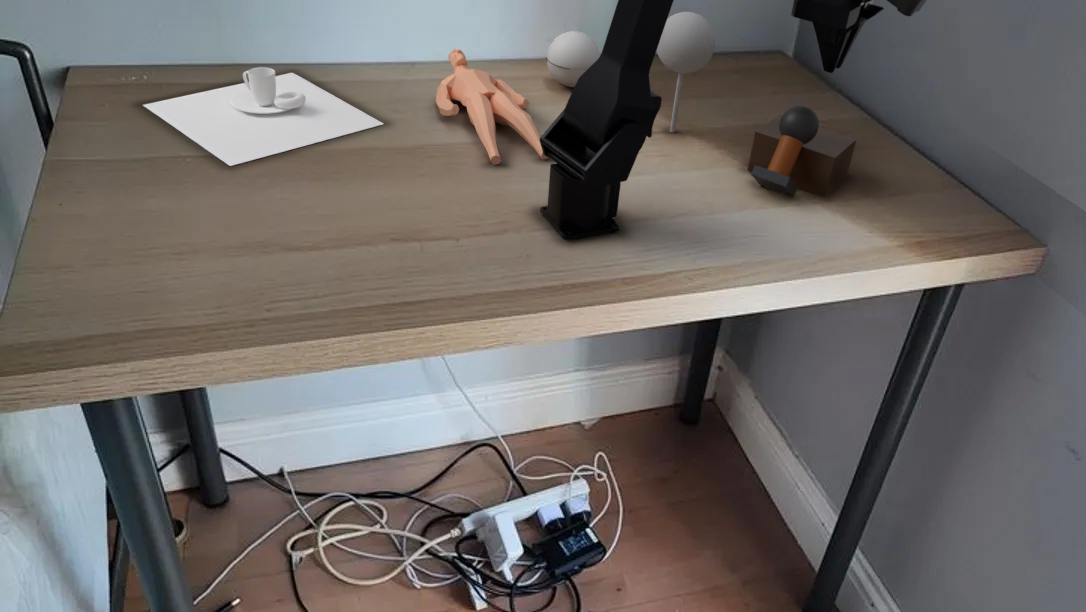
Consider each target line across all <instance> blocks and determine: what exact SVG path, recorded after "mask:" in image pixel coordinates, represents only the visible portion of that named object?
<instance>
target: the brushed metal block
mask: <svg viewBox="0 0 1086 612" xmlns="http://www.w3.org/2000/svg"><path fill="white" fill-rule="evenodd" d="M781 117H782V114H779V115H778V116H776V117H775V118H773V119H772V120H770V121H769V122H767V123H766V124H765V125H763V126H761V127H760V128H758V129H757V130H755V131H754V135H753V137H754V138H753V141H752V145H751V146H752V147H751V151H750V156H749V162H748V166H747V171H748V172H751V173H752V171H753V168H754V166H755V165H757V166H759V167H762V168H765V169H768V166H769V164H770V162H771V160H772V157H773V155H774V153H775V150H776V148H777V146H778V144H779V141H780V139H781V137H782V136H781V133H780V130H779V123H780V119H781ZM856 143H857V139H856V138H853V137H850V136H847V135H843V134H841V133H838V132H834V131H831V130H828V129H826V128H822V127H819V128H818V132H817V134H816V136H815V137H814V138H813V139H812V140H811V141H810V142H808V143H806V144H804V145H803V146H802V148H801V151H800V153H799V155H798V157H797V160H796V162H795V164H794V167H793V169H792V171H791V173H790V176H789V177H790V178H791V179H792V180H793V182H794V183H795V184H796V186H797V187H798V188H797V189H800V190H803V191H805V192H808V193H811V194H814V195H817V196H820V197H822V198H826V197H827V196H828V195H829V194H830V193H831V192H832V191H833V190H835V189H836V187H838V186H839V185H841V183H842V182H843V181H845V180H846V179H847V176H848V172H849V169H850V165H851V161H852V158H853V154H854V150H855V147H856Z"/></svg>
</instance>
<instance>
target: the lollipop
mask: <svg viewBox="0 0 1086 612" xmlns="http://www.w3.org/2000/svg"><path fill="white" fill-rule="evenodd" d="M715 49H716V36H715V31H714V29H713V27H712V25H711V23H710V22H709V21H708V20H707V19H706V18H705V17H704V16H702V15H700V14H699V13H696V12H692V11H681V12H677V13H675V14H672V15H671V16H668V18H667V21H666V24H665V27H664V30H663V33H662V36H661V39H660V42H659V45H658V47H657V50H656V53H657V56H658V58H659V60H660V61H661V63H662V64H663V65H664V66H665V67H666V68H668V69H669V70H670V71H673V72H674V73H678V74H677V80H676V87H675V94H674V101H673V107H672V114H671V122H670V127H669V132H670V133H676V128H677V122H678V121H677V120H678V115H679V108H680V100H681V96H682V95H681V94H682V88H683V81H684V74H692V73H695V72H697V71H700V70H701V69H702V68H703V67H705V66H706V65H707V64H708V63H709V61H710V60H711V58H712V57H713V55H714V52H715Z"/></svg>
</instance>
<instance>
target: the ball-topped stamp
mask: <svg viewBox="0 0 1086 612" xmlns="http://www.w3.org/2000/svg"><path fill="white" fill-rule="evenodd" d="M781 116H782V117H781V119H780V123H779V130H780V133H781V136H782V137H781V139H780V141H779V144H778V146H777V148H776V150H775V153H774V155H773V157H772V160H771V162H770V164H769V166H768V169H765V168H762V167H759V166H757V165H755V166H754V168H753V171H752V172H751V173H750V176H751V177H752V178H753V179H754V180H755V181H756V182H757V183H758V184H759V186H762V187H765V188H767V189H771V190H773V191H776V192H779V193H782V194H785V195H788V196H791V197H795V195H796V193H797V190H798V189H799V188H798V187H797V186H796V184H795V183H794V182H793V180H792V179H791V178H790V177H789V176H790V173H791V171H792V169H793V167H794V164H795V162H796V160H797V157H798V155H799V153H800V151H801V148H802V146H803V145H804V144H806V143H808V142H810V141H811V140H812V139H813V138H814V137H815V136H816V134H817V132H818V128H820V121H819V117H818V115H817V114H816V112H815V111H814V110H813V109H812V108H810V107H808V106H805V105H794V106H792V107H790V108H788V109H787V110H786V111H785V112H784V113H783V114H781Z"/></svg>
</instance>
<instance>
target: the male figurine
mask: <svg viewBox="0 0 1086 612" xmlns="http://www.w3.org/2000/svg"><path fill="white" fill-rule="evenodd" d="M447 59H448V62H449V63H450V65H451V66H452V69H453V72H454V73H451V75H449V76H447V77H445V78H444V79H443V80H441V82H440V84H439V85H438V88H437V90H436V96H435V103H436V105H437V108H438V110H439V112H440V115H442V116H444V117H454V116H456V115H458V114H459V111H460V108H459V106H458V104H455V103H453V102H452V101H453V100H455V101H457V102H459V103H461V104H462V106H464V107H465V108H466V111H467V115H468V118H469V122H470V124H472V125H473V126H474V128H475V130H476V134H477V136H478V138H479V140H480V142H481V144H482V145H483V147H484V148H485V150H486V152H487V155H488V157H489V160H490V163H491V164H492V165H495V166H496V165H499V164H500V163H501V161H502V160H501V155H500V154H499V150H498V144H497V138H496V123H497V124H500V125H502V126H506V125H508V126H509V127H511V128H512V129H513V130H514V131H515V132H517V134H518V135H520V136H521V137H522V138H523V139H524V140H525V142H527V143H528V144H529V146H531V147H532V149H534V151H535V152H536V153H537V154H538V156H539V157H540V158H541V159H542V160H547V159H548V158H549V157H546V156H545V155H544V154H543V151H542V148H541V144H540V137H541V136H540V134H539V132H538V129H537V127H536V125H535V123H534V121H533V119H532V117H531V114H529V113H528V112H526V111H524V110H527V109H528V108H529V105H530V101H529V100H528V98H525V97H523V96H522V95H521V94H520V93H518V92H516V91H515V90H514V89H513V88H512V87H511V86H509V85H508V84H507V83H505V81H503V80H502V79H499V78H494V77H493V76H492V75H491V74H489V73H488V72H487V71H483V70H481V69H477V68H469V64H468V61H467V57H466V54H464V52H463V51H462V50H461V49H459V48H455V49H453V50H451V51H450V52H449V53H448V57H447Z"/></svg>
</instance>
